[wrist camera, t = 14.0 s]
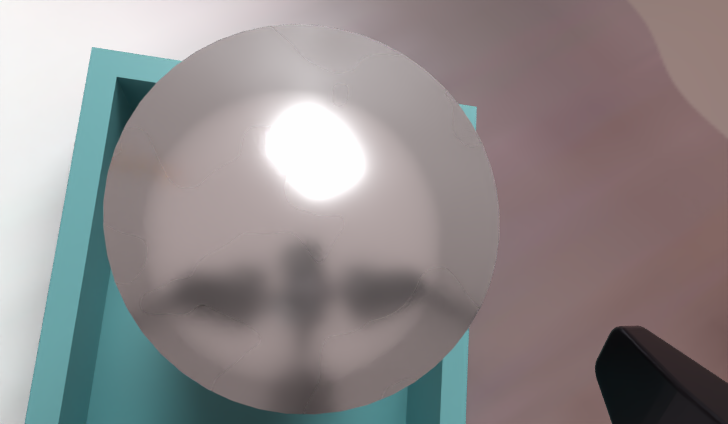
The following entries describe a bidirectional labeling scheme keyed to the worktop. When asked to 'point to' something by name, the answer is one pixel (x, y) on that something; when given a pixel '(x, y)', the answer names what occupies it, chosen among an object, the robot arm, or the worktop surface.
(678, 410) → the robot arm
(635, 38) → the worktop surface
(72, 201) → the teal bin
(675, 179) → the worktop surface
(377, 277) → the grey can
